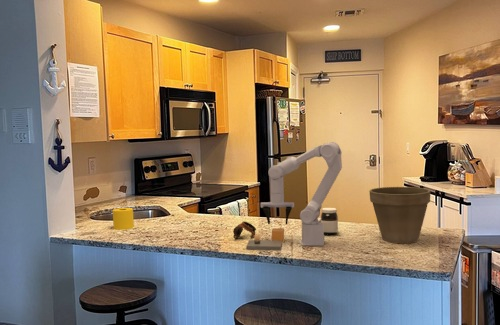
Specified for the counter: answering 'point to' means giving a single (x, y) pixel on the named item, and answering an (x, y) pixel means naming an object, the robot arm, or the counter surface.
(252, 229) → the brown curved arch
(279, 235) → the solid orange cube
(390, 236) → the plant pot
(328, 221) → the spread jar
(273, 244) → the grey flat block
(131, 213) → the yellow toilet paper roll
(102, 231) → the counter surface
